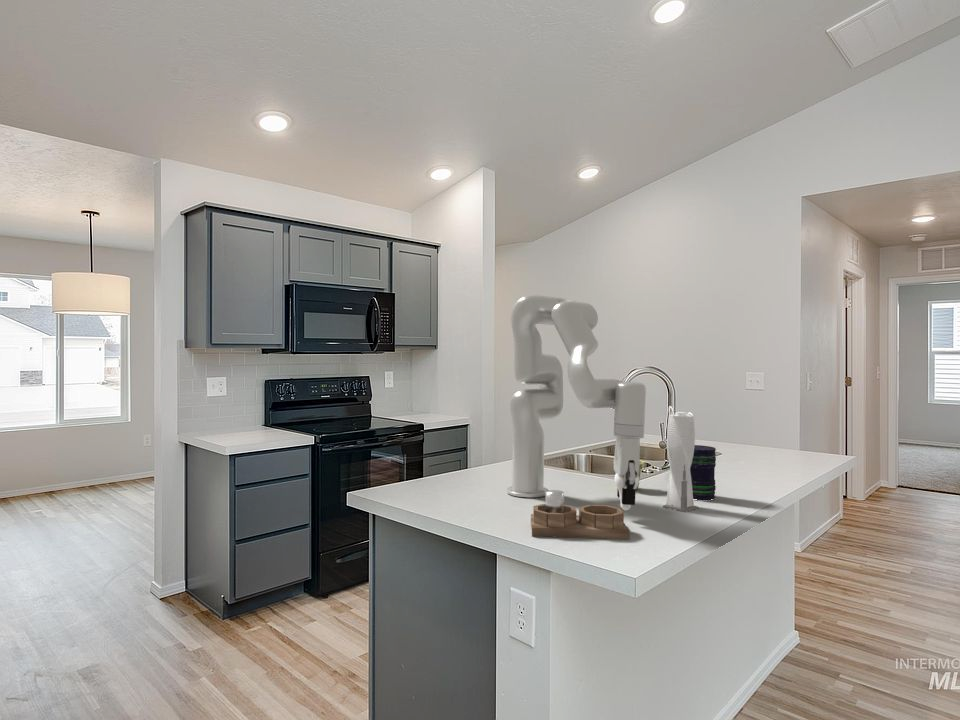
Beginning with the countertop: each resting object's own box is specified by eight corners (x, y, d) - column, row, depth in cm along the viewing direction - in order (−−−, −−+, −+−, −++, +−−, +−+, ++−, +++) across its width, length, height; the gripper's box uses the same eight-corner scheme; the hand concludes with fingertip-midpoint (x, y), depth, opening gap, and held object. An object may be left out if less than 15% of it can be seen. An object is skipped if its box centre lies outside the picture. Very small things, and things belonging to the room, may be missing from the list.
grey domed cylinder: (544, 518, 143) (545, 489, 143) (563, 519, 143) (563, 490, 143) (545, 523, 139) (546, 493, 139) (564, 524, 139) (564, 494, 139)
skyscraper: (657, 506, 166) (659, 406, 166) (673, 501, 171) (675, 405, 171) (685, 512, 159) (686, 408, 159) (701, 507, 164) (702, 407, 164)
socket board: (530, 522, 147) (530, 502, 147) (619, 524, 146) (619, 504, 146) (532, 536, 135) (532, 514, 135) (629, 539, 134) (629, 517, 134)
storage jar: (704, 502, 170) (704, 450, 170) (674, 496, 178) (674, 446, 178) (721, 497, 177) (722, 447, 177) (691, 491, 184) (692, 444, 184)
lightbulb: (608, 509, 151) (610, 466, 151) (621, 505, 155) (623, 464, 155) (629, 515, 146) (631, 471, 146) (642, 511, 151) (644, 468, 150)
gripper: (608, 425, 159) (605, 491, 160) (619, 435, 142) (616, 509, 142) (636, 426, 159) (633, 493, 159) (651, 436, 141) (648, 511, 142)
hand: (625, 500), depth 151 cm, fingers closed on lightbulb, 5 cm apart
